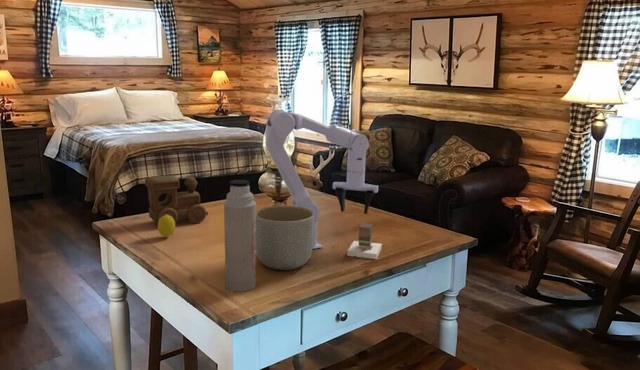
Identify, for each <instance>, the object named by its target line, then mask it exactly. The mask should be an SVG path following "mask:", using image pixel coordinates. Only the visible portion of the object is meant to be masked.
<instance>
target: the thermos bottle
mask: <svg viewBox="0 0 640 370" xmlns="http://www.w3.org/2000/svg"><path fill="white" fill-rule="evenodd" d="M229 186H230V187H229V192H228V193H227V194H226V201H224V204H223V209H224V210H223V214H224V217H223V219H224V220H223V221H224V223H223V224H224V229H223V230H224V255H225V256H224V272H225V273H224V281H225V282H224V283H225V285H224V286H225V288H226V289H227V290H228V291H229V290H230V291H233V292H249V291H251V290H253V289H255V288H256V286H257V252H256V211H257V202H256V201H254V198H255V196H254V193H252V192H251V190H250V181H249V180H246V179H234V180H230V181H229Z"/></svg>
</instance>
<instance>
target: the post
mask: <svg viewBox="0 0 640 370" xmlns="http://www.w3.org/2000/svg"><path fill="white" fill-rule="evenodd" d="M357 241H358V243H359V245H362V246H370V245H371V243H373V242H372V241H373V224H371V223H364V222H361V223H360V225H359V227H358V240H357Z"/></svg>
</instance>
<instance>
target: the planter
mask: <svg viewBox="0 0 640 370" xmlns="http://www.w3.org/2000/svg"><path fill="white" fill-rule="evenodd" d="M313 231H314V212H313V211H311V210H309V209H306V208H303V207H297V206H293V205H272V206H266V207H262V208H259V209H256V257H257V258H258V259H259V261H260V262H261V263H262V264H263V265H265V266H266V267H268V268H269V269H273V270H279V271H288V270H294V269H298V268H300V267H302V266H303V265H305V264H306V263H307V262H308V261H309V259H310V258H311V256H312V252H313V249H312V247H313Z"/></svg>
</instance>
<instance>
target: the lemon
mask: <svg viewBox="0 0 640 370" xmlns="http://www.w3.org/2000/svg"><path fill="white" fill-rule="evenodd" d="M175 230H176V223H175V221H174V219H173V218H172V217H171V216H169V215H167V214H165V215H164V216H162V217H161V218H160V219H159V221H158V223H157V231H158V233H159V234H160V235H161V236H163V237H165V238H169V237H170V236H172V235H173V234H174V233H175Z"/></svg>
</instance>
